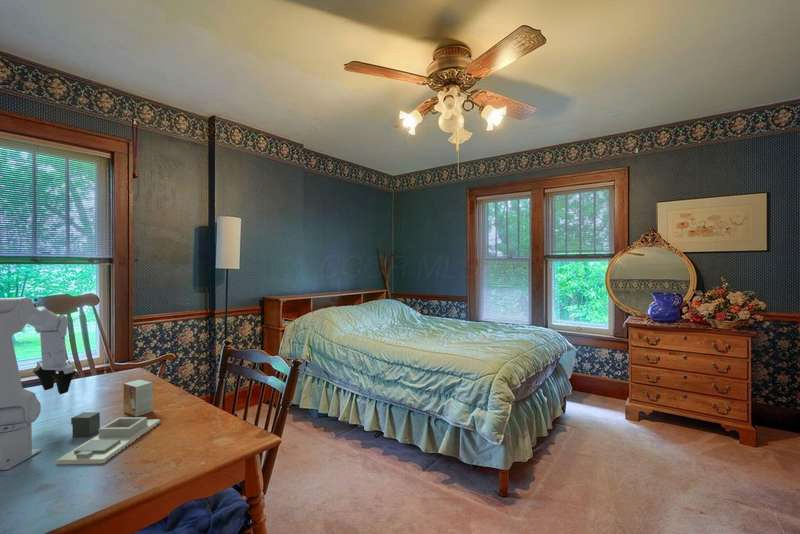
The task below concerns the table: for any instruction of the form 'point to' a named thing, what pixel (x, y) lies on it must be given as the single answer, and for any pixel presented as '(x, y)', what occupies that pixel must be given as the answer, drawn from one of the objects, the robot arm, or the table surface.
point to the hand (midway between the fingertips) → (56, 391)
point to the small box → (138, 397)
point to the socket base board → (109, 440)
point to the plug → (85, 424)
